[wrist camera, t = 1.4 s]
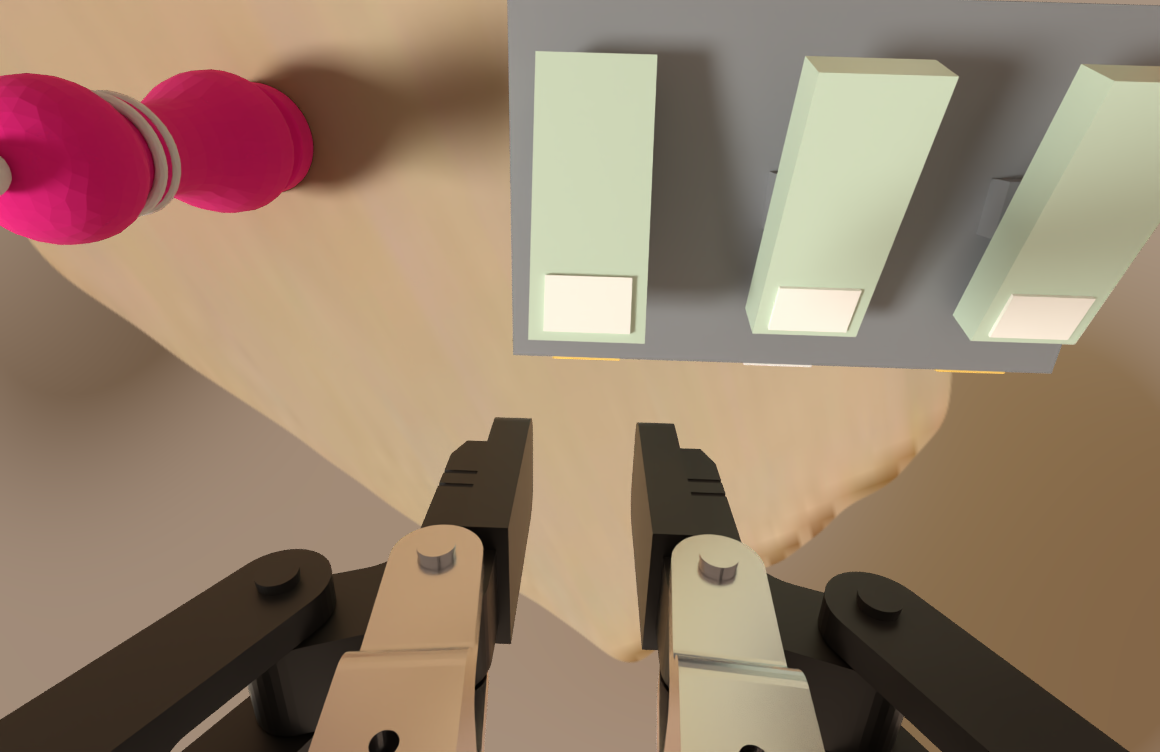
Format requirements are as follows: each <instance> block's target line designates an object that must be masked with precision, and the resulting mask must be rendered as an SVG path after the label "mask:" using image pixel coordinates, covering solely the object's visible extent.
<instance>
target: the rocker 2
mask: <svg viewBox="0 0 1160 752" xmlns="http://www.w3.org/2000/svg"><path fill="white" fill-rule="evenodd" d="M958 78H959V76H958V75H956V74H955V73H954V72H952V71H951V70H949V69H948V68H947V67H945V66H944V65H943V64H941V63H940V62H938V61H937V60H928V59H894V58H860V57H825V56H805V59H804V63H803V67H802V71H801V76H800V80H799V84H798V88H797V92H796V97H795V101H794V105H793V109H792V113H791V118H790V122H789V126H788V130H787V135H786V139H785V143H784V147H783V151H782V156H781V160H780V164H779V168H778V172H777V177H776V181H775V185H774V189H773V193H772V198H771V202H770V206H769V210H768V214H767V219H766V223H765V227H764V231H763V235H762V240H761V244H760V248H759V252H758V256H757V261H756V265H755V269H754V273H753V277H752V282H751V286H750V290H749V294H748V298H747V303H746V307H745V309H746V313H747V316H748V320H749V323H750V327H751V330H752V333H753V334H782V335H812V336H841V337H856V335H857V333H858V330H859V328H860V325H861V323H862V320H863V318H864V315H865V313H866V310H867V308H868V305H869V303H870V300H871V298H872V295H873V293H874V290H875V288H876V285H877V282H878V280H879V277H880V275H881V272H882V270H883V267H884V265H885V262H886V260H887V257H888V255H889V252H890V250H891V247H892V245H893V242H894V240H895V237H896V235H897V232H898V230H899V227H900V224H901V222H902V219H903V217H904V214H905V212H906V209H907V207H908V204H909V202H910V199H911V197H912V194H913V192H914V189H915V187H916V184H917V182H918V179H919V177H920V174H921V172H922V169H923V167H924V164H925V161H926V159H927V156H928V154H929V151H930V149H931V146H932V144H933V141H934V139H935V136H936V134H937V131H938V129H939V126H940V124H941V121H942V119H943V116H944V114H945V111H946V109H947V106H948V103H949V101H950V98H951V96H952V93H953V91H954V88H955V86H956V83H957V81H958Z"/></svg>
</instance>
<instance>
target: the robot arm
mask: <svg viewBox="0 0 1160 752" xmlns="http://www.w3.org/2000/svg"><path fill="white" fill-rule="evenodd" d="M532 497H533V425H532V419H528V418H500V417H496V418H495V419H494V422H493V425H492V428H491V431H490V434H489V438H488V441H466V442H465V443H464V444H463V445H461V446H460V447H459V448H458V449H457V450H455V451H454V452H453V453H452V454H451V456H450V458H449V461H448V463H447V465H446V468H445V473H443V475H442V478H441V480H440V482H439V486H438V487H437V490H436V492H435V495H434V497H433V500H432V502H431V504H430V507H429V509H428V512H427V514H426V517H425V519H424V521H423V524H422V526H421V528H420V529H418V530H415V531H413V532H411V533H409V534H407V535H406V536H404V537H403V538H401V539H400V540H399V541H398V542H397V543H396V544H395V546H394V547H393V548H392V550H391V552H390V555H389V558H388V561H387V562H385V563H382V564H379V565H376V566H373V567H368V568H364V569H359V570H353V571H348V572H343V573H338V574H332V570H331V565H330V563H329V561H328V560H327V559H326V558H325V557H324V556H323V555H321V554H319V553H317V552H314V551H310V550H303V549H290V550H283V551H279V552H274V553H271V554H268V555H265V556H262V557H260V558H258V559H256V560H254V561H252V562H250V563H248V564H247V565H245V566H244V567H242V568H240V569H239V570H237V571H236V572H234V573H232V574H231V575H229V576H228V577H226V578H225V579H223V580H221V581H220V582H218V583H217V584H215V585H213V586H212V587H210V588H209V589H207V590H206V591H204V592H202V593H201V594H199V595H198V596H196V597H195V598H193V599H191V600H190V601H188V602H186V603H185V604H183V605H182V606H180V607H178V608H177V609H176V610H174V611H172V612H171V613H169V614H167V615H166V616H164V617H163V618H161V619H159V620H158V621H156V622H155V623H153V624H152V625H150V626H148V627H147V628H145V629H144V630H142V631H140V632H139V633H137V634H136V635H134V636H132V637H131V638H129V639H128V640H126V641H125V642H123V643H121V644H120V645H118V646H117V647H115V648H114V649H112V650H110V651H109V652H107V653H106V654H104V655H102V656H101V657H99V658H98V659H96V660H94V661H93V662H91V663H90V664H88V665H87V666H85V667H83V668H82V669H80V670H78V671H77V672H75V673H74V674H72V675H71V676H69V677H67V678H66V679H64V680H63V681H61V682H60V683H58V684H56V685H55V686H53V687H52V688H50V689H48V690H47V691H45V692H44V693H42V694H40V695H39V696H37V697H36V698H34V699H32V700H31V701H29V702H28V703H26V704H24V705H23V706H21V707H20V708H18V709H17V710H15V711H13V712H12V713H10V714H9V715H7V716H5V717H4V718H2V719H1V720H0V752H170V751H171V750H172V749H173V747H174V746H175V745H176V744H177V743H178V742H179V741H180V740H181V739H182V738H183V737H184V736H185V735H186V734H188V733H189V732H190V731H191V730H193V729H194V728H195V727H196V726H198V725H199V724H200V723H201V722H202V721H204V720H205V719H206V718H207V717H209V716H210V715H211V714H213V713H214V712H215V711H216V710H218V709H219V708H220V707H221V706H222V705H224V704H225V703H226V702H227V701H229V700H230V699H231V698H232V697H234V696H235V695H236V694H238V693H239V692H240V691H241V690H242V689H244V688H245V687H246V686H248V690H249V693H250V696H249V697H248V698H247V699H245V700H244V701H243V702H242V703H240V704H239V705H238V706H237V707H236V708H234V709H233V710H232V711H231V712H229V713H228V714H227V715H226V716H225V717H223V718H222V719H221V720H220V721H218V722H217V723H216V724H215V725H213V726H212V727H211V728H210V729H209V730H207V731H206V732H205V733H204V734H202V735H201V736H200V737H199V738H198V739H196V740H195V741H194V742H193V743H191V744H190V745H189V746H188V747H187V748H185V749H184V750H183V751H182V752H484V747H485V733H486V719H487V704H488V689H489V673H488V670H489V668H490V666H491V662H492V657H493V651H494V645H495V643H499V644H511V640H512V633H513V627H514V621H515V615H516V608H517V601H518V595H519V589H520V583H521V576H522V570H523V564H524V557H525V551H526V544H527V538H528V532H529V525H530V519H531V511H532ZM631 524H632V536H633V548H634V559H635V571H636V583H637V595H638V607H639V619H640V631H641V642H642V649H644V650H658V655H659V663H660V669H659V678H658V687H657V752H929V751H928V750H926V749H925V748H924V747H923V746H922V745H921V744H920V743H919V742H918V741H917V740H916V739H915V738H914V737H913V736H912V735H911V734H910V733H909V732H908V731H906V730H905V729H904V728H903V727H902V726H901V723H902V720H903V717H904V716H905V718H906V719H907V720H909V721H910V722H911V723H912V724H913V725H914V726H915V727H916V728H917V729H918V730H919V731H920V732H921V733H923V734H924V735H925V736H926V737H927V738H928V739H929V740H930V741H931V742H932V743H933V744H934V745H936V747H938V748H939V749H940V750H941V751H942V752H1129V751H1127V750H1126V749H1125V748H1123V747H1122V746H1121V745H1119V744H1118V743H1117V742H1115V741H1114V740H1113V739H1111V738H1110V737H1108V736H1107V735H1106V734H1104V733H1103V732H1102V731H1100V730H1099V729H1098V728H1096V727H1095V726H1094V725H1092V724H1091V723H1089V722H1088V721H1087V720H1085V719H1084V718H1083V717H1081V716H1080V715H1079V714H1077V713H1076V712H1075V711H1073V710H1072V709H1070V708H1069V707H1068V706H1066V705H1065V704H1064V703H1062V702H1061V701H1060V700H1058V699H1057V698H1055V697H1054V696H1053V695H1052V694H1050V693H1049V692H1047V691H1046V690H1045V689H1043V688H1042V687H1040V686H1039V685H1038V684H1036V683H1035V682H1034V681H1032V680H1031V679H1030V678H1028V677H1027V676H1026V675H1024V674H1023V673H1021V672H1020V671H1019V670H1017V669H1016V668H1015V667H1013V666H1012V665H1011V664H1009V663H1008V662H1007V661H1005V660H1004V659H1003V658H1001V657H1000V656H998V655H997V654H996V653H995V652H993V651H992V650H990V649H989V648H988V647H986V646H985V645H984V644H982V643H981V642H980V641H978V640H977V639H976V638H974V637H973V636H971V635H970V634H969V633H967V632H966V631H965V630H963V629H962V628H961V627H959V626H958V625H957V624H955V623H954V622H952V621H951V620H950V619H948V618H947V617H946V616H944V615H943V614H942V613H940V612H939V611H938V610H936V609H935V608H934V607H932V606H931V605H929V604H928V603H927V602H925V601H924V600H923V599H921V598H920V597H919V596H917V595H916V594H915V593H913V592H912V591H910V590H909V589H907V588H906V587H904V586H903V585H901V584H899V583H897V582H895V581H893V580H890V579H888V578H886V577H883V576H880V575H876V574H872V573H866V572H847V573H842V574H839V575H837V576H835V577H833V578H832V579H831V580H830V581H829V582H828V583H827V585H826V588H825V592H824V593H823V592H819V591H815V590H812V589H808V588H804V587H800V586H797V585H793V584H790V583H786V582H784V581H781V580H779V579H777V578H774V577H773V576H771V575H769V574H767V573H766V569H765V566H764V563H763V562H762V560H761V558H760V557H759V556H758V555H757V553H756V552H754V551H753V550H752V549H751V548H750V547H748V546H746V545H745V544H743V543H741V540H740V537H739V533H738V530H737V527H736V524H735V521H734V518H733V515H732V512H731V509H730V506H729V503H728V500H727V497H725V491H724V488H723V485H722V483H721V479H720V476H719V473H718V470H717V467H716V464H715V463H714V462H713V461H712V460H711V459H710V458H709V457H708V456H707V455H706V454H705V453H704V452H703V451H702V450H701V449H682V448H680V446H679V442H678V438H677V434H676V430H675V426H674V424H665V423H637V425H636V433H635V446H634V460H633V474H632V488H631Z"/></svg>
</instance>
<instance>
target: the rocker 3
mask: <svg viewBox="0 0 1160 752" xmlns="http://www.w3.org/2000/svg"><path fill="white" fill-rule="evenodd" d="M1159 223H1160V66H1133V65H1099V64H1081V65H1080V67H1079V69H1078V71H1077V73H1076V75H1075V77H1074V79H1073V81H1072V83H1071V85H1070V87H1069V89H1068V91H1067V93H1066V95H1065V97H1064V99H1063V101H1062V103H1061V104H1060V106H1059V108H1058V110H1057V112H1056V114H1055V116H1054V118H1053V120H1052V122H1051V124H1050V126H1049V128H1048V130H1047V132H1046V134H1045V136H1044V138H1043V140H1042V142H1041V144H1040V145H1039V147H1038V149H1037V151H1036V153H1035V155H1034V157H1033V159H1032V161H1031V163H1030V165H1029V167H1028V169H1027V171H1026V173H1025V175H1024V177H1023V179H1022V181H1021V183H1020V185H1019V186H1018V188H1017V190H1016V192H1015V194H1014V196H1013V198H1012V200H1011V202H1010V204H1009V206H1008V208H1007V210H1006V212H1005V214H1004V216H1003V218H1002V220H1001V222H1000V224H999V226H998V227H997V229H996V231H995V233H994V235H993V237H992V239H991V241H990V243H989V245H988V247H987V249H986V251H985V253H984V255H983V257H982V259H981V261H980V263H979V265H978V267H977V268H976V270H975V272H974V274H973V276H972V278H971V280H970V282H969V284H968V286H967V288H966V290H965V292H964V294H963V296H962V298H961V300H960V302H959V304H958V306H957V308H956V309H955V311H954V313H953V316H954V318H955V319H956V321H957V322H958V324H959V325H960V326H961V328H962V329H963V331H964V332H965V334H966V335H967V336H968V338H969V339H970V341H989V342H1018V343H1048V344H1075V343H1076V342H1077V341H1078V339H1079V338H1080V336H1081V335H1082V333H1083V332H1084V331H1085V329H1086V328H1087V326H1088V325H1089V323H1090V322H1091V321H1092V319H1093V318H1094V316H1095V315H1096V313H1097V312H1098V310H1099V309H1100V308H1101V306H1102V305H1103V303H1104V302H1105V301H1106V299H1107V298H1108V296H1109V295H1110V293H1111V292H1112V291H1113V289H1114V288H1115V286H1116V285H1117V283H1118V282H1119V281H1120V279H1121V278H1122V276H1123V275H1124V273H1125V272H1126V271H1127V269H1128V268H1129V266H1130V265H1131V263H1132V262H1133V261H1134V259H1135V258H1136V256H1137V255H1138V253H1139V252H1140V251H1141V249H1142V248H1143V246H1144V245H1145V243H1146V242H1147V241H1148V239H1149V238H1150V236H1151V235H1152V233H1153V232H1154V231H1155V229H1156V228H1157V226H1158V225H1159Z"/></svg>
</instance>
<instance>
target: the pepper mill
mask: <svg viewBox="0 0 1160 752" xmlns="http://www.w3.org/2000/svg"><path fill="white" fill-rule="evenodd" d="M312 158H313V140H312V135H311V131H310V128H309V125H308V123H307V121H306V119H305V117H304V115H303V114H302V112H301V111H300V110H299V108H298V107H297V106H296V104H295V103H294V102H293V101H292V100H291V99H290V98H288V97H287V96H286V95H285V94H283V93H282V92H280V91H279V90H277V89H275V88H273V87H271V86H268V85H265V84H261V83H256V82H250V81H248V80H246V79H244V78H242V77H240V76H237V75H235V74H232V73H228V72H225V71H220V70H212V69H211V70H196V71H189V72H184V73H180V74H177V75H175V76H173V77H171V78H169V79H167V80H165V81H163V82H161V83H160V84H159V85H157V86H156V87H154V88H153V89H152V90H151V91H150V92H149V94H148V95H147V96H146V97H145V98H144V99H143V100H142V101H141V102H139V101H137V100H136V99H134V98H131V97H129V96H127V95H124V94H121V93H118V92H113V91H108V90H96V91H94V90H89V89H87V88H85V87H83V86H81V85H79V84H76V83H74V82H71V81H68V80H65V79H62V78H59V77H55V76H49V75H40V74H30V73H22V74H13V75H4V76H0V226H2V227H4V228H6V229H7V230H9V231H12V232H13V233H15V234H18V235H21V236H24V237H27V238H30V239H33V240H36V241H40V242H46V243H52V244H58V245H73V244H85V243H92V242H97V241H101V240H104V239H107V238H110V237H112V236H114V235H116V234H119V233H121V232H122V231H123V230H124V229H126V228H127V227H128V226H129V225H131V224H132V223H133V222H134V221H135V220H136V219H137V218H138V217H140V216H143V215H148V214H152V213H155V212H157V211H159V210H161V209H163V208H164V207H165V206H166V205H167V204H168V203H170V201H171V200H172V199H173V198H176V199H178V200H181V201H183V202H185V203H187V204H190V205H192V206H195V207H198V208H201V209H206V210H211V211H216V212H222V213H236V212H243V211H250V210H256V209H258V208H260V207H263V206H265V205H267V204H269V203H270V202H272V201H273V200H274V199H275V198H277V197H278V196H279V195H280V194H281V192H284V191H286V190H289V189H291V188H293V187H295V186H296V185H297V184H298V183H299V182H301V181H302V180H303V178H304V177H305V176H306V174H307V172H308V170H309V168H310V166H311V163H312Z"/></svg>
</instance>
